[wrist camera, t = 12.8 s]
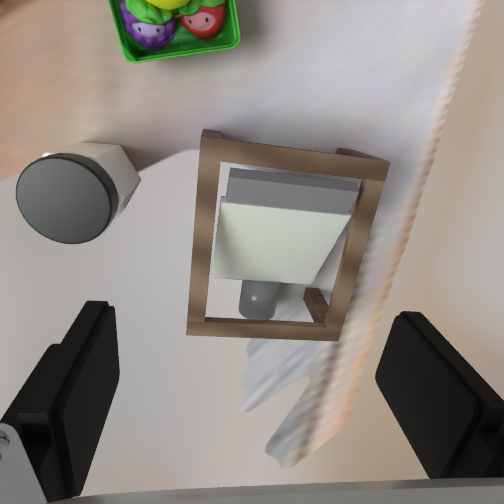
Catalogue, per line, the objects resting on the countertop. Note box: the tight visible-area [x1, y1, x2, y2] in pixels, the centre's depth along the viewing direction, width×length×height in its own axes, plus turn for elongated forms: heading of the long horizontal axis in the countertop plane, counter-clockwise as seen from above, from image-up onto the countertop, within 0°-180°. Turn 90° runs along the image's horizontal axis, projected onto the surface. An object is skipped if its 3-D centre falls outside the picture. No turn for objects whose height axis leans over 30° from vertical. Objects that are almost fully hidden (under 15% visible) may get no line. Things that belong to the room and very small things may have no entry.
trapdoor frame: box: [186, 129, 390, 341], centre depth 41 cm, size 22×19×10 cm
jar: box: [16, 142, 141, 244], centre depth 35 cm, size 9×8×12 cm
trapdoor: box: [211, 168, 359, 284], centre depth 40 cm, size 17×14×2 cm
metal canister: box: [239, 280, 280, 320], centre depth 47 cm, size 5×5×5 cm
